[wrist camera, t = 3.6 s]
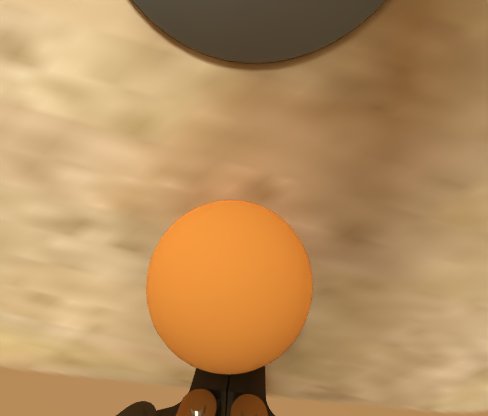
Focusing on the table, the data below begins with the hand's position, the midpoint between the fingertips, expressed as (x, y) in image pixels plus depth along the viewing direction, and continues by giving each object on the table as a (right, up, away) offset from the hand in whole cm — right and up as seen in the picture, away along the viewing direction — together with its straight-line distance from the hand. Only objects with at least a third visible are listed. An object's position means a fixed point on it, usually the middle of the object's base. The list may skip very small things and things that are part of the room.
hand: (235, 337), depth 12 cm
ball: (0, +4, -3) cm, 5 cm away
